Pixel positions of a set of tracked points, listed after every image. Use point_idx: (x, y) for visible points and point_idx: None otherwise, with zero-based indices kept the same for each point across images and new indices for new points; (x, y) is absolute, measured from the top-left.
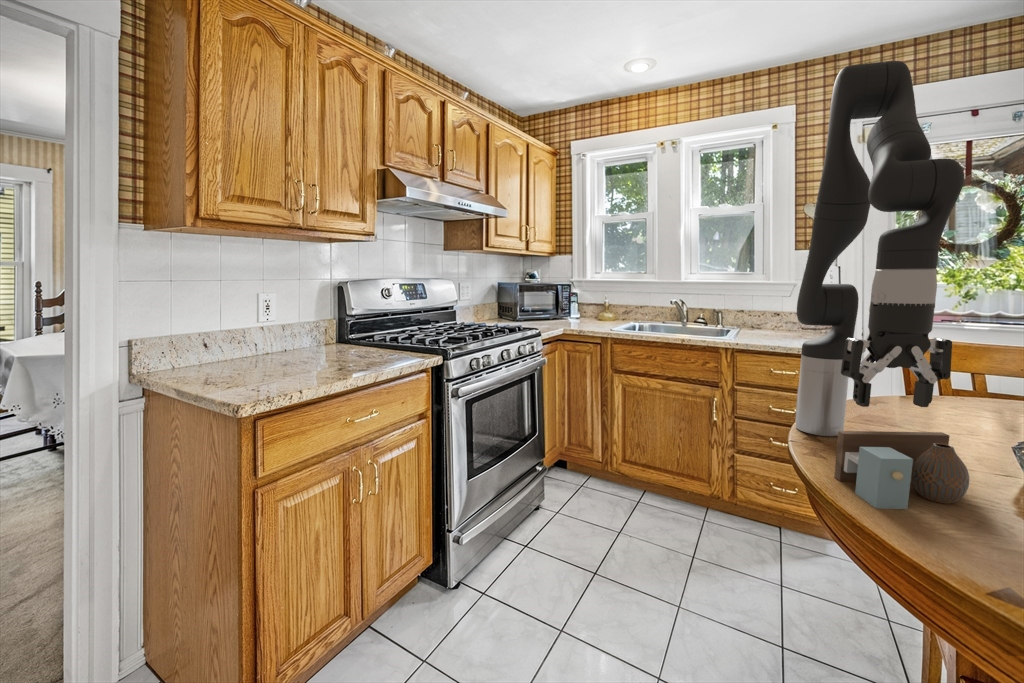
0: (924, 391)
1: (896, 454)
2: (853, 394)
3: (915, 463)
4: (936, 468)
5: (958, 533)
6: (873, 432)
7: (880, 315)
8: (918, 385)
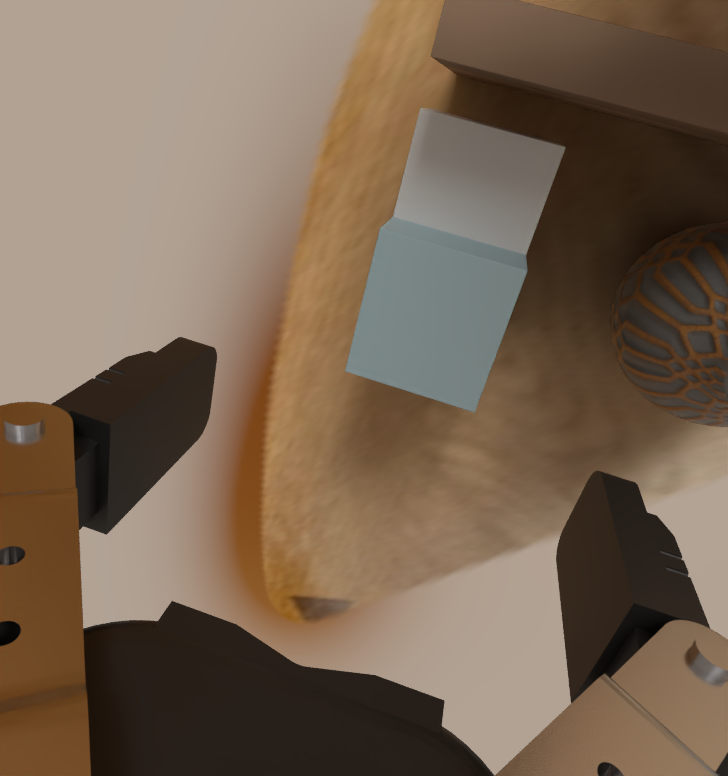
0: (569, 632)
1: (457, 355)
2: (109, 372)
3: (658, 282)
4: (642, 377)
5: (476, 466)
6: (658, 64)
7: None
8: (608, 607)
